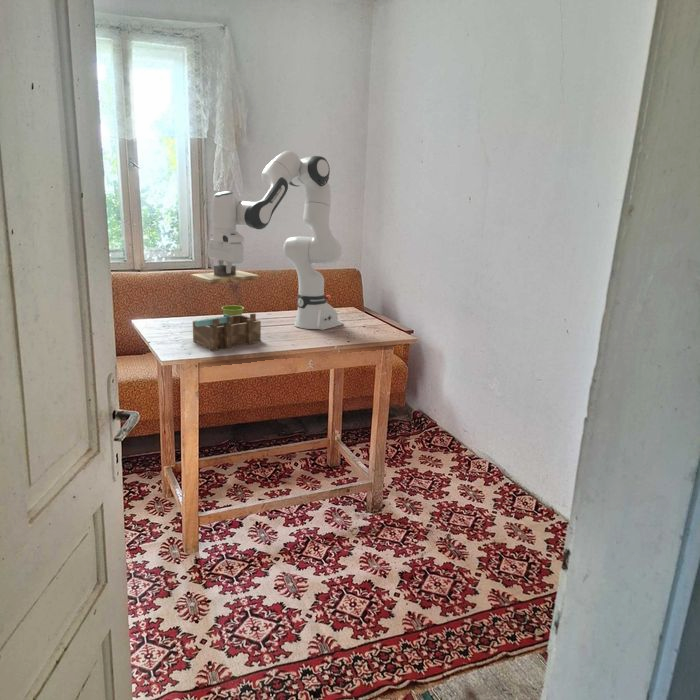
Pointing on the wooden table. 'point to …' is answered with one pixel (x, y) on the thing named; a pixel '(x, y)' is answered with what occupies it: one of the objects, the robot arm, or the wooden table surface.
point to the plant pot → (233, 310)
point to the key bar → (211, 321)
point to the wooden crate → (228, 332)
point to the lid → (224, 275)
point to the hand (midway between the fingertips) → (225, 272)
